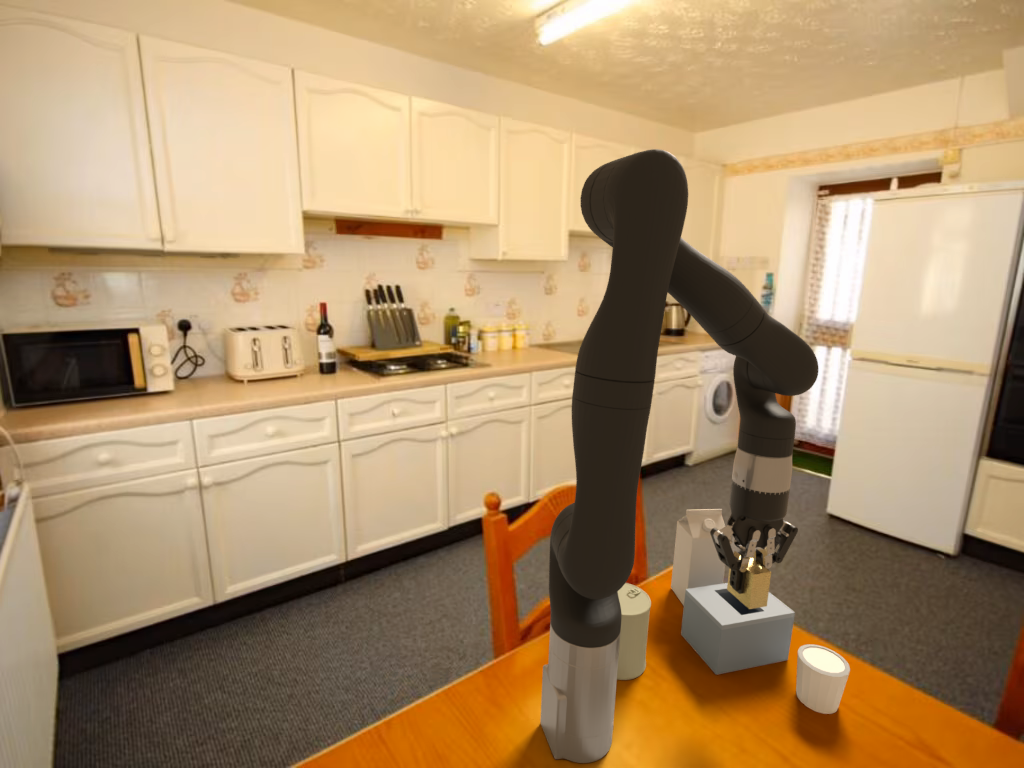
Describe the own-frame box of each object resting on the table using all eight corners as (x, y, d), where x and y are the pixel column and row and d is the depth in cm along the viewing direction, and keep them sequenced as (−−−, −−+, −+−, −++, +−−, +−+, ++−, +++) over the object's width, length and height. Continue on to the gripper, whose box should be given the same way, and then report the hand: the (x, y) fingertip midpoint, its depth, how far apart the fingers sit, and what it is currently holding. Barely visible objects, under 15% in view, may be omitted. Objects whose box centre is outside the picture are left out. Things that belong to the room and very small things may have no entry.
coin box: (716, 674, 85) (722, 625, 83) (680, 634, 94) (685, 589, 92) (787, 660, 89) (795, 612, 87) (746, 622, 98) (752, 578, 96)
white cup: (850, 721, 77) (858, 679, 75) (799, 712, 78) (806, 671, 76) (832, 686, 83) (839, 647, 82) (785, 678, 84) (791, 640, 83)
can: (657, 665, 87) (664, 600, 84) (618, 689, 81) (623, 620, 79) (616, 633, 94) (621, 573, 91) (578, 653, 89) (581, 589, 86)
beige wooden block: (749, 609, 76) (753, 574, 75) (726, 589, 81) (730, 556, 79) (766, 606, 77) (771, 572, 76) (743, 586, 81) (747, 554, 80)
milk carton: (670, 588, 108) (679, 502, 104) (703, 586, 109) (713, 501, 105) (685, 609, 101) (695, 518, 97) (720, 608, 102) (731, 517, 98)
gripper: (735, 495, 70) (722, 611, 73) (822, 486, 73) (805, 597, 77) (701, 474, 77) (691, 581, 80) (782, 467, 80) (769, 569, 84)
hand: (747, 588), depth 78 cm, fingers closed on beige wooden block, 2 cm apart
